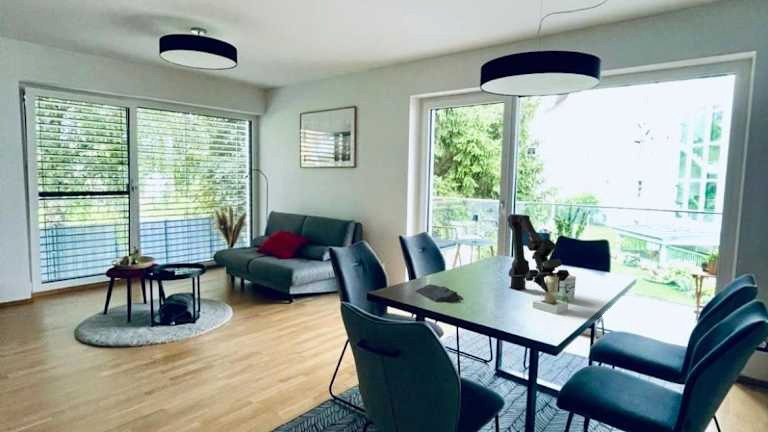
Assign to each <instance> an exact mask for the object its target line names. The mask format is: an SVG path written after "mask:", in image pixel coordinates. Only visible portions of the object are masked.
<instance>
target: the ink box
mask: <svg viewBox="0 0 768 432" xmlns="http://www.w3.org/2000/svg"><path fill="white" fill-rule="evenodd" d="M576 282H577V276H575V275H569V276H568V277H567V278H566V279H565V280H564V281H560V288H559V292H557V300H559V301H563V302H571V301H575V291H576Z"/></svg>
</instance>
